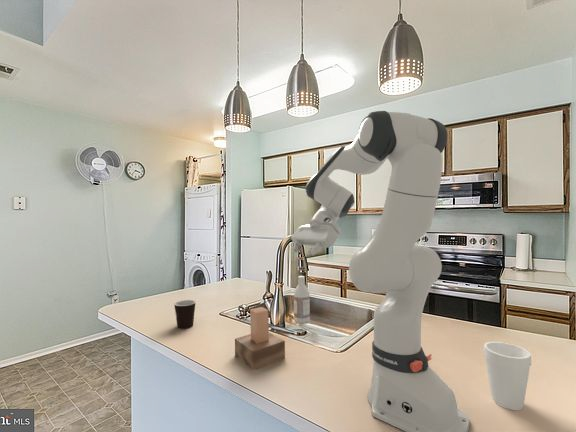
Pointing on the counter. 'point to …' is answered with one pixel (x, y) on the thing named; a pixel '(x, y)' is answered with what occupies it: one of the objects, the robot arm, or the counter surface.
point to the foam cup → (507, 373)
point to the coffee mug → (185, 313)
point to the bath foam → (301, 302)
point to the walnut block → (259, 351)
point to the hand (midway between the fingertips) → (302, 252)
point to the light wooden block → (259, 325)
